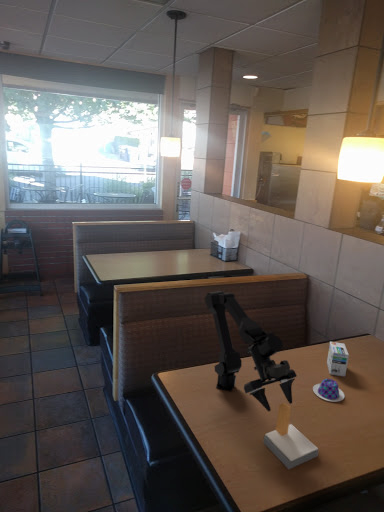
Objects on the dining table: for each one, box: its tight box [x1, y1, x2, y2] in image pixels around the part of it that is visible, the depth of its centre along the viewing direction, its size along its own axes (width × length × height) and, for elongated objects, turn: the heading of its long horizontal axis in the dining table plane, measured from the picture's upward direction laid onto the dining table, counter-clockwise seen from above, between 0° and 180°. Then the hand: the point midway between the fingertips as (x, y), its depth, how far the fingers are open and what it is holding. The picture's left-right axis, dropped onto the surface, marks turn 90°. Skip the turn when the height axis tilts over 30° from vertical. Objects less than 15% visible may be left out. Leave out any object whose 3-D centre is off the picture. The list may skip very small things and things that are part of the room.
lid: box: [265, 402, 319, 461], centre depth 120 cm, size 12×11×10 cm
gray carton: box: [262, 435, 319, 470], centre depth 122 cm, size 12×12×2 cm
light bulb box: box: [326, 341, 350, 378], centre depth 168 cm, size 11×7×11 cm, turn 168°
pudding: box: [312, 378, 345, 403], centre depth 152 cm, size 12×12×5 cm
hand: (280, 407), depth 124 cm, fingers open, 9 cm apart
